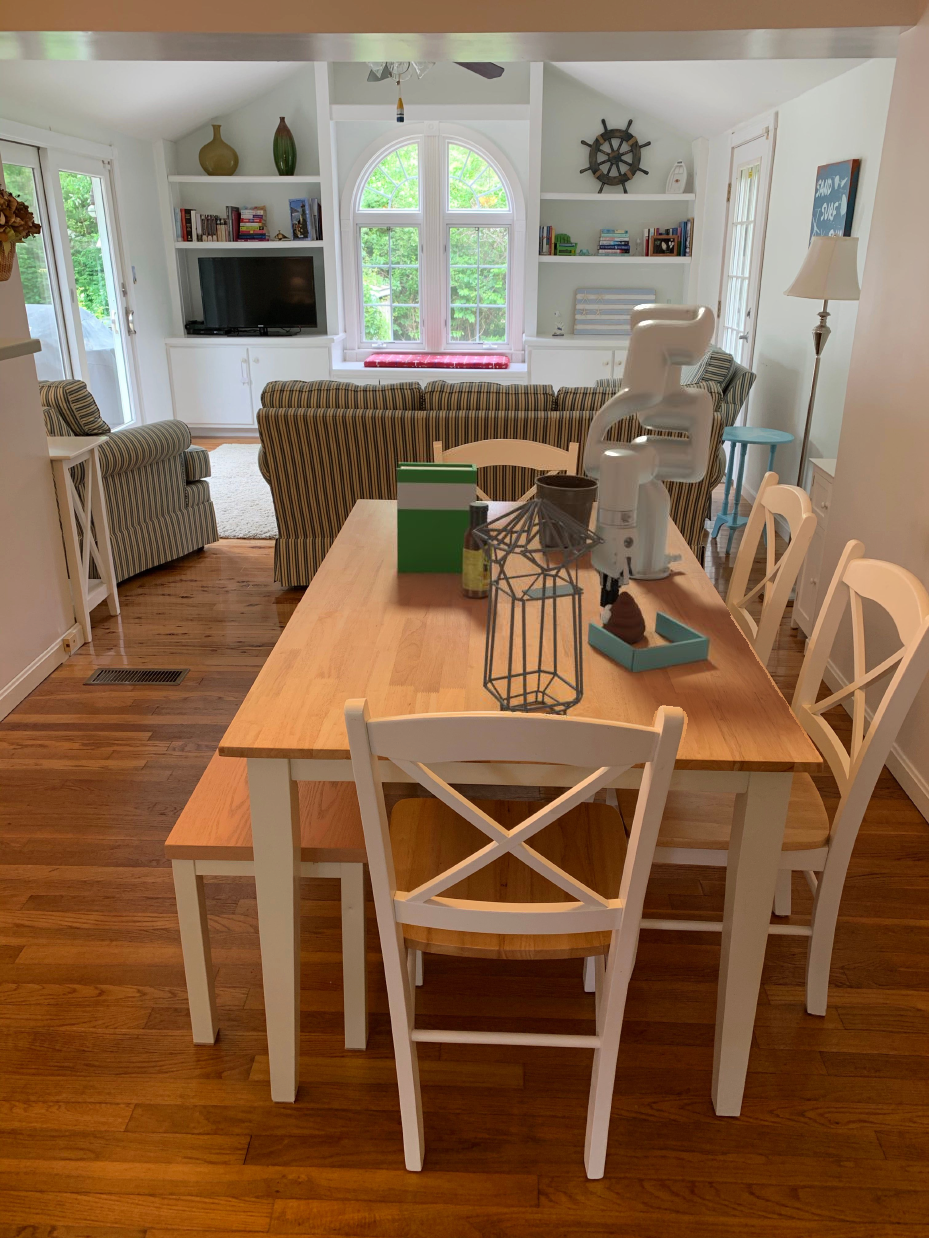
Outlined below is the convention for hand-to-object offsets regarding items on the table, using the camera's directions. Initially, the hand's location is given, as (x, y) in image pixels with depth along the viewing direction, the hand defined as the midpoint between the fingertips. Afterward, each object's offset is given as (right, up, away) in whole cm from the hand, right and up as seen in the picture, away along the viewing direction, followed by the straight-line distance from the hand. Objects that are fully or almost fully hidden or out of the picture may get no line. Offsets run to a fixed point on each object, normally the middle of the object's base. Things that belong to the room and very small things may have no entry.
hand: (608, 606), depth 184 cm
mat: (-9, +3, +20) cm, 22 cm away
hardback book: (-35, +9, +34) cm, 50 cm away
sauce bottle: (-26, +3, +18) cm, 32 cm away
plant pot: (-3, +17, +57) cm, 59 cm away
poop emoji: (+2, -6, -3) cm, 7 cm away
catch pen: (+5, -8, -10) cm, 14 cm away
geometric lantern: (-18, -18, -35) cm, 44 cm away
